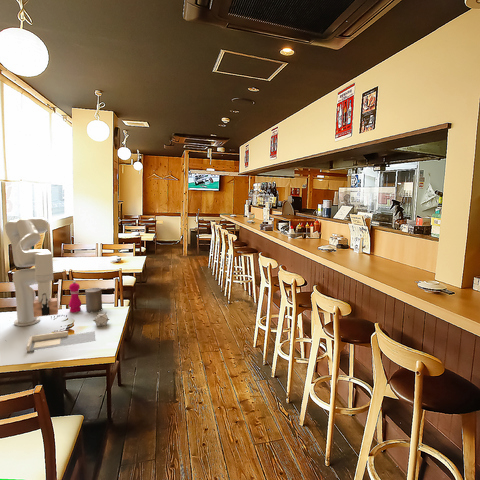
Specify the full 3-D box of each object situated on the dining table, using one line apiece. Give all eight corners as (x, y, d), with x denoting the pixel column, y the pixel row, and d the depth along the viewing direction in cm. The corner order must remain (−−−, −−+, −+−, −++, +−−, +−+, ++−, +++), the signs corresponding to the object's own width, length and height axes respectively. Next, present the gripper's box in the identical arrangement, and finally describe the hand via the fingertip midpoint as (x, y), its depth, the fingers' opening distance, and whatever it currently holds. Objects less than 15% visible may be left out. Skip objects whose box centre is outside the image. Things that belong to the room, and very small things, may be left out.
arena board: (30, 342, 166) (30, 335, 165) (94, 333, 179) (94, 327, 178) (27, 353, 155) (26, 346, 155) (95, 342, 168) (95, 336, 168)
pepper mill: (78, 308, 215) (77, 278, 212) (83, 310, 210) (82, 281, 208) (67, 310, 209) (65, 280, 206) (72, 313, 205) (70, 283, 202)
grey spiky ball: (103, 333, 187) (101, 324, 180) (90, 327, 188) (89, 318, 181) (113, 321, 193) (112, 312, 186) (101, 315, 194) (99, 306, 187)
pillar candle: (105, 308, 216) (104, 286, 214) (95, 313, 207) (94, 290, 205) (93, 306, 219) (92, 285, 217) (82, 311, 210) (81, 289, 207)
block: (58, 310, 166) (57, 297, 165) (57, 314, 161) (56, 300, 160) (35, 313, 161) (34, 300, 160) (33, 317, 157) (33, 303, 156)
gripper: (37, 273, 164) (39, 308, 167) (33, 282, 149) (35, 320, 152) (54, 272, 168) (56, 306, 170) (52, 281, 153) (53, 318, 155)
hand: (46, 312), depth 161 cm, fingers closed on block, 5 cm apart
